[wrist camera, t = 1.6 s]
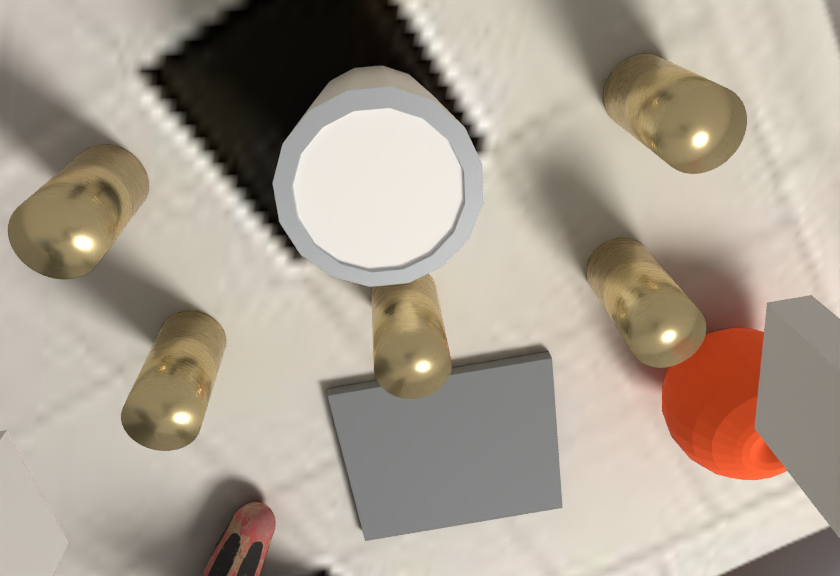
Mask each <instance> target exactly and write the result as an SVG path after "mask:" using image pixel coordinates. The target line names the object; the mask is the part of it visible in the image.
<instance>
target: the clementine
mask: <svg viewBox="0 0 840 576" xmlns="http://www.w3.org/2000/svg"><path fill="white" fill-rule="evenodd" d="M763 339H764V332H762V331H758V330H754V329H749V328H730V329H724V330H719V331H715V332H711V333H709V334H706V335H705V338H704V341H703V343H702V344H701V346H700V347H699V349H698V350H697V351H696V352H695V353H694V354H693V355H692V356H691V357H690V358H688V359H687V360H685V361H683V362H681V363H679V364H677V365H674V366H670V367H669V369H668V370H667V372H666V375H665V379H664V382H663V385H662V412H663V415H664V418H665V421H666V423H667V426H668V429H669V431H670V434H671V437H672V438H673V439H674V440H675V441H676V443H677V444H678V445H679V446H680V447H681V449H682V450H683V451H684V452H685V453H686V454H687V455H688V457H689V458H690V459H691V460H693V461H695V462H696V463H698V464H700V465H701V466H703V467H705V468H707V469H708V470H710V471H712V472H713V473H715V474H718V475H722V476H726V477H729V478H735V479H742V480H759V479H765V478H771V477H773V476H776V475H779V474H781V473H784V472H786V471H787V470H786V468H785V467H784V466H783V464H782V463H781V462H780V461H779V459H778V458H777V457H776V455H775V454H774V453H773V452H772V450H771V449H770V448H769V446H768V445H767V444H766V443H765V441H764V440H763V439H762V437H761V436H760V435H759V434H758V432H757V431H756V430H755V418H756V408H757V398H758V388H759V378H760V368H761V359H762V349H763Z"/></svg>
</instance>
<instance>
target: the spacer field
mask: <svg viewBox="0 0 840 576" xmlns="http://www.w3.org/2000/svg"><path fill="white" fill-rule="evenodd" d="M603 98H604V105H605V108H606V111H607V113H608V115H609V116H610V117H611V119H613V120H614V121H615V122H616V123H617V124H618V125H620V126H621V127H622V128H623V129H625V130H626V131H627V132H629V133H630V134H631V135H632V136H634V137H635V138H636V139H637V140H639V141H640V142H641V143H642V144H644V145H645V146H646V147H647V148H649V149H650V150H651V151H652V152H654V153H655V154H656V155H657V156H659V157H660V158H661V159H662V160H664V161H665V162H666V163H668V164H669V165H670V166H671V167H673V168H674V169H676V170H678V171H681V172H684V173H689V174H697V173H703V172H707V171H710V170H713V169H715V168H717V167H718V166H720V165H722V164H723V163H724V162H726V161H727V160H728V159H729V158H730V157H731V156H732V155H733V154H734V153H735V152H736V150H737V149H738V147H739V146H740V144H741V142H742V140H743V137H744V135H745V131H746V125H747V115H746V110H745V107H744V105H743V102H742V101H741V99H740V98H739V97H738V96H737V95H736V94H735V93H734V92H733V91H731V90H729V89H728V88H725V87H723V86H721V85H719V84H717V83H715V82H712V81H710V80H708V79H706V78H704V77H702V76H700V75H697V74H695V73H693V72H691V71H689V70H687V69H684V68H682V67H680V66H678V65H676V64H674V63H671V62H669V61H667V60H665V59H663V58H661V57H658V56H656V55H652V54H638V55H634V56H632V57H629V58H627V59H625V60H624V61H622V62H621V63H620V64H619V65H618V66H617V67H616V68H615V69H614V70H613V71H612V73H611V74H610V76H609V77H608V79H607V82H606V85H605V88H604V97H603ZM148 191H149V180H148V176H147V173H146V170H145V169H144V167H143V165H142V164H141V162H140V161H139V160H138V159H137V158H136V157H135V156H134V155H132V154H131V153H130V152H128V151H126V150H124V149H122V148H120V147H117V146H113V145H96V146H93V147H90V148H88V149H86V150H85V151H83V152H82V153H81V154H80V155H78V156H77V157H76V158H75V159H74V160H73V161H71V162H70V163H69V164H68V165H67V166H66V167H64V168H63V169H62V170H61V171H60V172H59V173H57V174H56V175H55V176H54V177H53V178H52V179H50V180H49V181H48V182H47V183H46V184H45V185H43V186H42V187H41V188H40V189H39V190H37V191H36V192H35V193H34V194H33V195H32V196H30V197H29V198H28V199H27V200H26V201H25V202H23V203H22V204H21V205H20V206H19V207H18V208H17V209H16V210H15V211H14V212H13V214H12V216H11V218H10V220H9V224H8V236H9V241H10V244H11V246H12V248H13V250H14V252H15V253H16V255H17V256H18V257H19V258H20V260H21V261H22V262H23V263H24V264H26V265H27V266H28V267H29V268H31V269H32V270H34V271H36V272H37V273H40V274H42V275H44V276H47V277H51V278H56V279H73V278H78V277H81V276H83V275H85V274H87V273H89V272H90V271H91V270H92V269H93V268H94V267H95V266H96V265H97V264H98V262H99V261H100V260H101V258H102V257H103V256H104V254H105V253H106V252H107V250H108V249H109V248H110V246H111V245H112V244H113V242H114V241H115V240H116V238H117V237H118V236H119V234H120V233H121V232H122V230H123V229H124V228H125V226H126V225H127V224H128V222H129V221H130V220H131V218H132V217H133V216H134V214H135V213H136V212H137V210H138V209H139V208H140V206H141V205H142V204H143V202H144V201H145V199H146V197H147V195H148ZM586 276H587V280H588V282H589V284H590V286H591V287H592V289H593V291H594V292H595V294H596V295H597V297H598V298H599V300H600V302H601V303H602V305H603V306H604V308H605V310H606V311H607V313H608V314H609V316H610V317H611V319H612V321H613V322H614V324H615V325H616V327H617V329H618V330H619V332H620V333H621V335H622V336H623V338H624V340H625V341H626V343H627V344H628V346H629V348H630V349H631V351H632V352H633V354H634V355H635V357H636V358H637V359H638V360H639V361H640V362H642V363H643V364H645V365H648V366H651V367H657V368H664V367H670V366H674V365H677V364H679V363H681V362H683V361H685V360H687V359H688V358H690V357H691V356H692V355H693V354H694V353H695V352H696V351H697V350H698V349H699V347H700V346H701V344H702V343H703V341H704V338H705V335H706V321H705V318H704V316H703V314H702V313H701V312H700V310H699V309H698V308H697V307H696V306H695V305H694V303H693V302H692V301H691V300H690V299H689V298H688V297H687V295H686V294H685V293H684V292H683V291H682V290H681V289H680V287H679V286H678V285H677V284H676V283H675V282H674V280H673V279H672V278H671V277H670V276H669V275H668V274H667V272H666V271H665V270H664V269H663V268H662V267H661V266H660V264H659V263H658V262H657V261H656V260H655V259H654V257H653V256H652V255H651V254H650V253H649V252H648V251H647V249H646V248H645V247H644V246H643V245H642V244H641V243H639V242H638V241H635V240H633V239H628V238H619V239H614V240H611V241H608V242H606V243H604V244H603V245H601V246H600V247H599V248H598V249H597V250H596V251H595V252H594V253H593V254H592V256H591V257H590V259H589V261H588V264H587V268H586ZM371 299H372V327H373V354H374V373H375V377H376V379H377V382H378V383H379V385H380V386H381V387H382V388H383V389H384V390H385V391H386V392H388V393H389V394H391V395H393V396H396V397H399V398H403V399H419V398H424V397H427V396H429V395H431V394H433V393H435V392H437V391H438V390H439V389H440V388H441V387H442V386H443V385H444V384H445V383H446V382H447V380H448V378H449V376H450V373H451V367H452V363H451V357H450V352H449V348H448V343H447V338H446V333H445V329H444V324H443V319H442V315H441V310H440V305H439V300H438V296H437V291H436V286H435V283H434V281H433V279H432V278H431V276H430V275H429V274H426V275H424V276H422V277H420V278H418V279H416V280H414V281H412V282H410V283H404V284H394V285H383V286H373V287H372V292H371ZM225 347H226V336H225V332H224V330H223V328H222V327H221V325H220V324H219V323H218V322H217V321H216V320H215V319H213V318H212V317H210V316H208V315H206V314H204V313H200V312H196V311H184V312H179V313H176V314H174V315H172V316H171V317H169V318H168V319H167V320H166V321H165V322H164V323H163V325H162V327H161V329H160V331H159V333H158V335H157V338H156V340H155V342H154V344H153V346H152V348H151V350H150V352H149V354H148V356H147V358H146V361H145V363H144V365H143V367H142V369H141V371H140V373H139V375H138V377H137V379H136V381H135V384H134V386H133V388H132V390H131V392H130V394H129V396H128V398H127V400H126V402H125V404H124V407H123V409H122V413H121V421H122V425H123V427H124V429H125V431H126V432H127V434H128V435H129V436H130V437H131V438H132V439H133V440H134V441H136V442H137V443H139V444H140V445H142V446H145V447H147V448H150V449H154V450H161V451H170V450H176V449H180V448H183V447H185V446H187V445H188V444H190V443H191V442H192V441H193V440H194V439H195V438H196V437H197V435H198V434H199V431H200V429H201V425H202V422H203V419H204V416H205V412H206V409H207V406H208V403H209V399H210V396H211V393H212V389H213V386H214V383H215V380H216V376H217V373H218V370H219V367H220V363H221V360H222V357H223V354H224V350H225Z"/></svg>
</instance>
